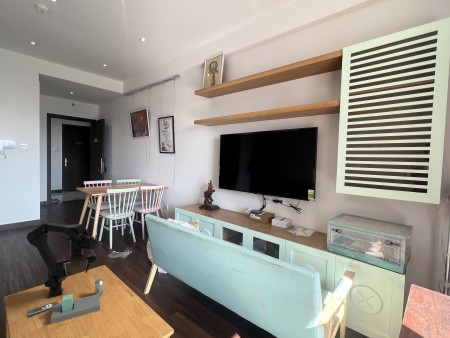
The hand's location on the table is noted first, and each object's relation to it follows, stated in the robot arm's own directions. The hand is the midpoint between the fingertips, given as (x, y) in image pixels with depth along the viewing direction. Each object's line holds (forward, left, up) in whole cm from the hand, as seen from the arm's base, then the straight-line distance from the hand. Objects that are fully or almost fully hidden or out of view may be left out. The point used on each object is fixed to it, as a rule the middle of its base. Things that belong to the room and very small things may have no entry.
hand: (76, 275), depth 122 cm
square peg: (+13, -3, -12) cm, 18 cm away
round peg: (+4, +11, -12) cm, 17 cm away
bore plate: (+13, +1, -12) cm, 18 cm away
